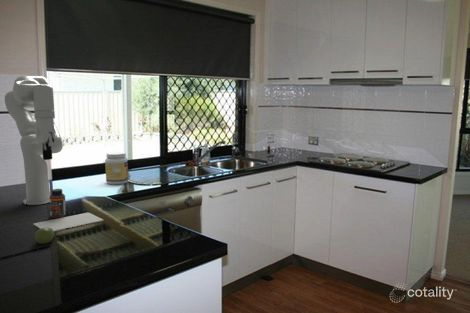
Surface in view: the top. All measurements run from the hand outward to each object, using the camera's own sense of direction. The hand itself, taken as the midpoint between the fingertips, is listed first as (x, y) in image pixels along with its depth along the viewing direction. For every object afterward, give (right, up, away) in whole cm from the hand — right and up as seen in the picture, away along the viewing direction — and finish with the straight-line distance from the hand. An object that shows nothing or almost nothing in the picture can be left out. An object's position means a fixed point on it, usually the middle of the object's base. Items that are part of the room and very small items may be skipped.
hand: (47, 159), depth 172 cm
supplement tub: (+11, -14, +62) cm, 65 cm away
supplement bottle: (+5, -24, -2) cm, 25 cm away
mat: (+13, -25, -10) cm, 30 cm away
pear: (+13, -28, -30) cm, 43 cm away
